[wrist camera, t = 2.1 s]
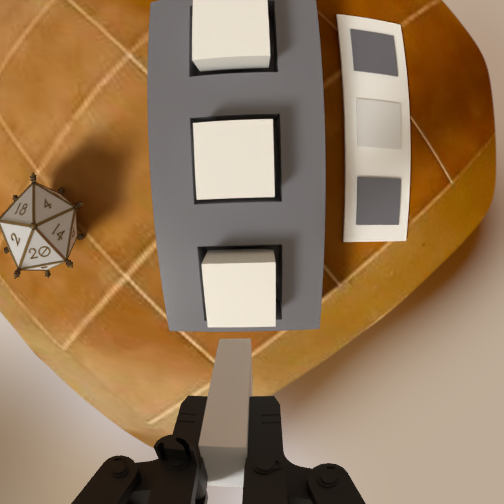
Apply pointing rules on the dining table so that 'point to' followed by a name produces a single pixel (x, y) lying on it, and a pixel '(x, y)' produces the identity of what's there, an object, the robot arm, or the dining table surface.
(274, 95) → the button board
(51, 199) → the game die
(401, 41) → the pattern card
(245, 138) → the middle button
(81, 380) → the dining table surface
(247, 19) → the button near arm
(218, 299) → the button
